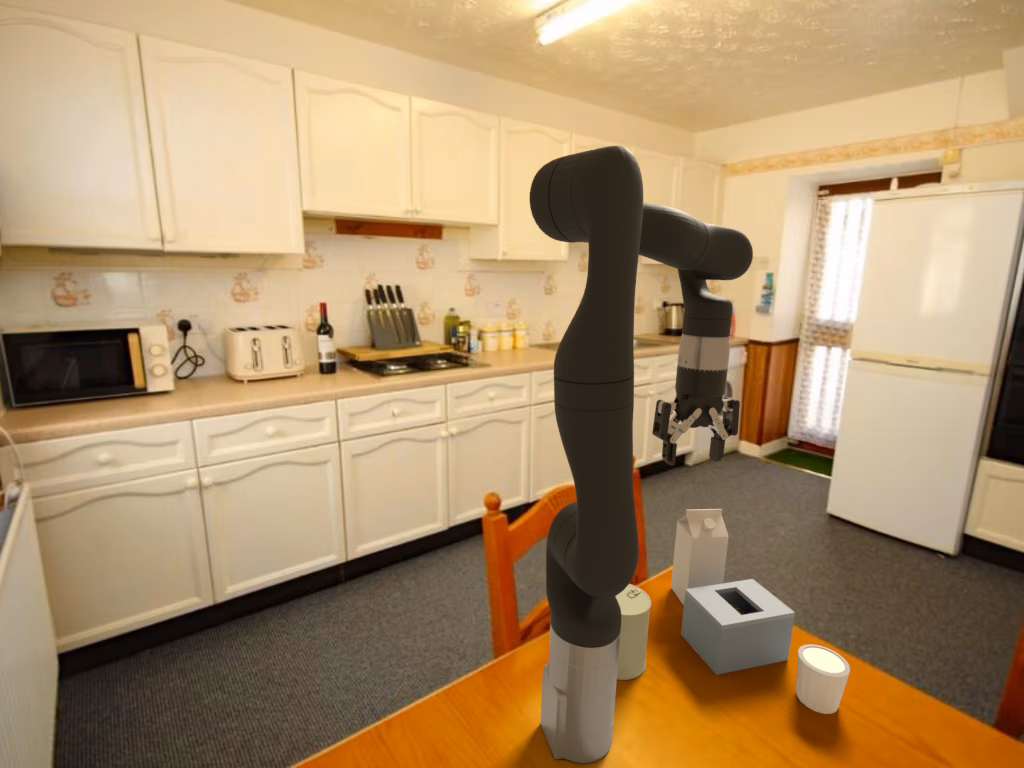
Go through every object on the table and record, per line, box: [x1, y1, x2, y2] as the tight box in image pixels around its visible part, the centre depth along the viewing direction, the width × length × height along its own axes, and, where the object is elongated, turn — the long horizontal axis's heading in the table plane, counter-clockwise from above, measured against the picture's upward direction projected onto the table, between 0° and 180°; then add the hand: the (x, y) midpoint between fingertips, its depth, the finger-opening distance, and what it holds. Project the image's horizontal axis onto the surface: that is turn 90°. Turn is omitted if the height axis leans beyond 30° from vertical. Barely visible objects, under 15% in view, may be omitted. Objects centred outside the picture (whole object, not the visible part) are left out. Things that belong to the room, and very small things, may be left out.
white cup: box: [795, 643, 851, 715], centre depth 80 cm, size 7×7×7 cm
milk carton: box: [670, 508, 730, 607], centre depth 103 cm, size 7×7×19 cm
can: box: [616, 583, 652, 681], centre depth 86 cm, size 9×9×12 cm
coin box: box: [680, 578, 796, 675], centre depth 90 cm, size 14×10×9 cm
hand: (692, 461), depth 86 cm, fingers open, 8 cm apart
